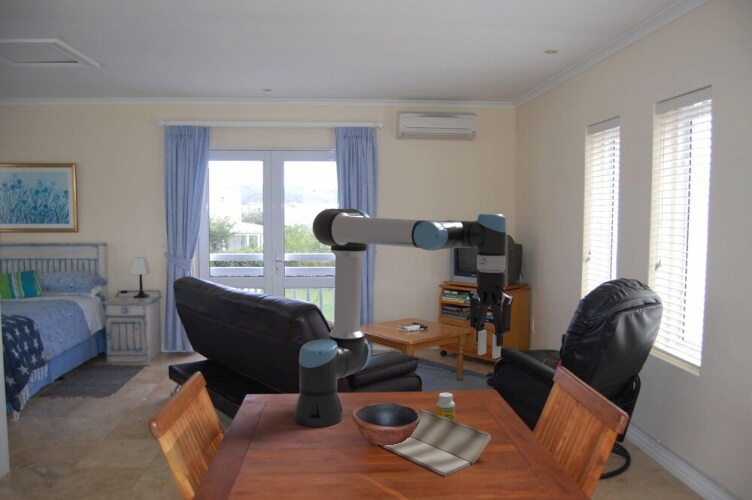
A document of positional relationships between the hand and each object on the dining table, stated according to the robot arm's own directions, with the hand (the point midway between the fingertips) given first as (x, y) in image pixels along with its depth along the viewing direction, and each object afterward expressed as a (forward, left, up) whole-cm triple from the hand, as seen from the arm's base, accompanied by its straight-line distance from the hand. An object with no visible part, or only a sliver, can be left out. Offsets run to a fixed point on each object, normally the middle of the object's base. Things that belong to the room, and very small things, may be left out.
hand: (489, 355), depth 151 cm
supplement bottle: (-16, +1, -25) cm, 30 cm away
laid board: (-6, -20, -25) cm, 32 cm away
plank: (-6, -10, -22) cm, 25 cm away
